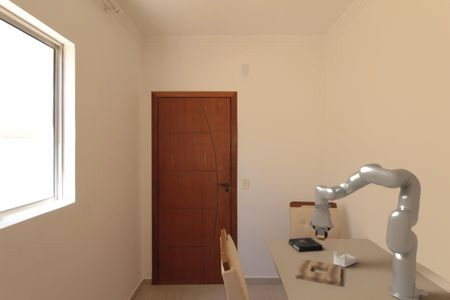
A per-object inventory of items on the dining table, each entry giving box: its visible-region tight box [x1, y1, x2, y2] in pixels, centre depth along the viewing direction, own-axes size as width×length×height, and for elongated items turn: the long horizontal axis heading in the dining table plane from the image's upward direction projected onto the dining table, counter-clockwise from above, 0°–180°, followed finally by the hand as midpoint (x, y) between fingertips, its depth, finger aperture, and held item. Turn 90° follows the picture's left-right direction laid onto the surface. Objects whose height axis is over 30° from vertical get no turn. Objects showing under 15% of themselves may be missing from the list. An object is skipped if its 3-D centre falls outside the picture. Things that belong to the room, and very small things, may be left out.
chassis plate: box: [295, 258, 342, 287], centre depth 159 cm, size 22×22×2 cm
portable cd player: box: [288, 237, 323, 253], centre depth 199 cm, size 16×17×4 cm
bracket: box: [333, 250, 358, 268], centre depth 172 cm, size 13×7×8 cm, turn 125°
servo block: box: [316, 226, 326, 242], centre depth 169 cm, size 4×10×6 cm, turn 155°
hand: (321, 237), depth 169 cm, fingers closed on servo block, 4 cm apart
